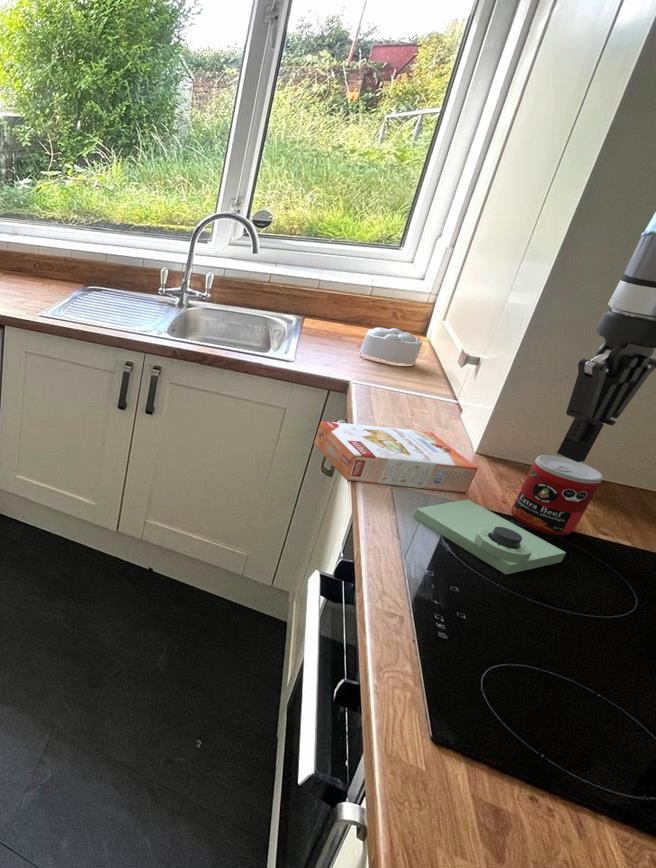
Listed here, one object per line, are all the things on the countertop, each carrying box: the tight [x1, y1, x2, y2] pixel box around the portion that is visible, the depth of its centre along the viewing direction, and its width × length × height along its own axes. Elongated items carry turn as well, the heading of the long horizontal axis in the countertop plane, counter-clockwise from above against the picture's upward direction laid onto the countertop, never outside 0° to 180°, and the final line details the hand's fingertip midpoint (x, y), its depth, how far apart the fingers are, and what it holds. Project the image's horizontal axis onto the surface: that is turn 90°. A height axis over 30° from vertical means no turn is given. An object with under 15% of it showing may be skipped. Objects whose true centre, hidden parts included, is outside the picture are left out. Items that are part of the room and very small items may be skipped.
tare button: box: [490, 527, 522, 549], centre depth 88 cm, size 3×3×2 cm
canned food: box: [511, 454, 604, 536], centre depth 97 cm, size 8×8×11 cm
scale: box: [412, 499, 567, 575], centre depth 93 cm, size 14×12×4 cm
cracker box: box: [313, 420, 479, 494], centre depth 112 cm, size 14×6×21 cm
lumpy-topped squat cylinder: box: [359, 326, 423, 364], centre depth 168 cm, size 10×13×9 cm
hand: (570, 457), depth 92 cm, fingers closed
